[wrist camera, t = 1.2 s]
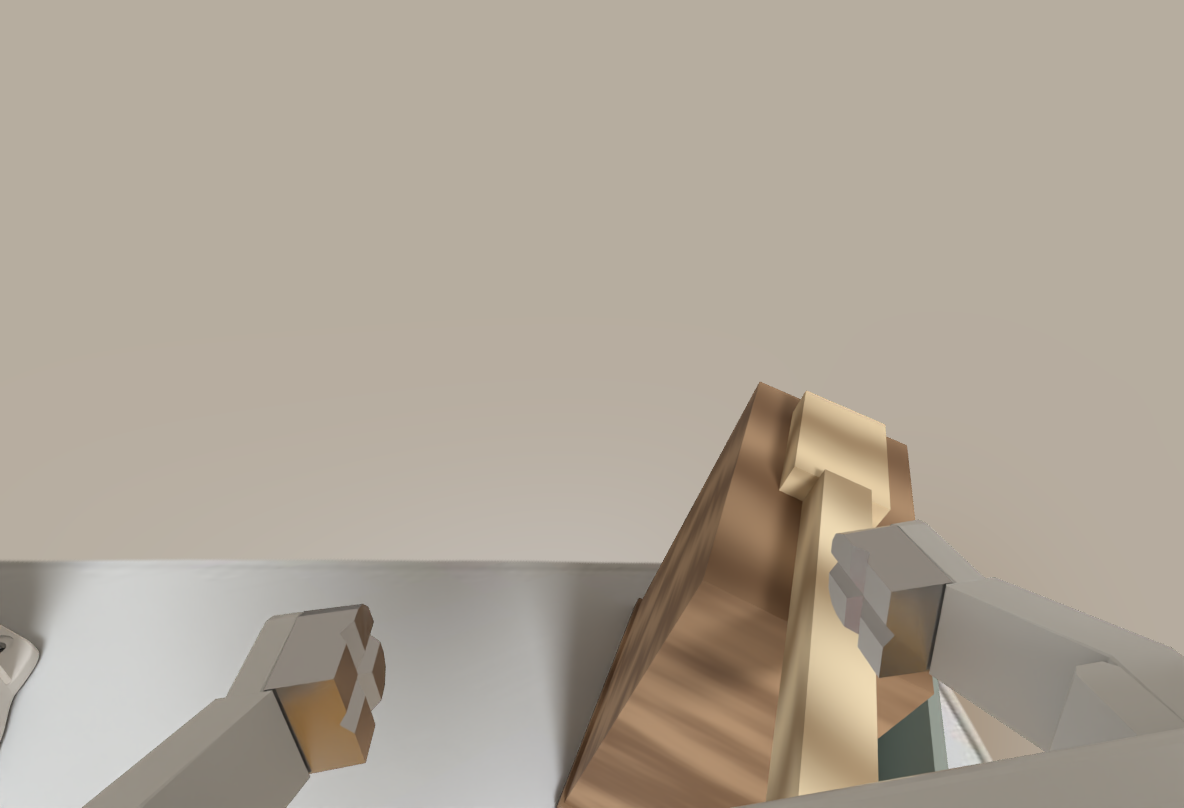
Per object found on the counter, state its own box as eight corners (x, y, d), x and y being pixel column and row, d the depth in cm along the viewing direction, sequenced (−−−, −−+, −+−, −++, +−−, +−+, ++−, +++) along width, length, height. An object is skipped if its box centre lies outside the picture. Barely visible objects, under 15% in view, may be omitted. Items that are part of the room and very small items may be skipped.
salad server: (878, 888, 18) (925, 864, 17) (723, 803, 19) (755, 773, 17) (869, 446, 37) (890, 417, 36) (792, 412, 38) (810, 382, 36)
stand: (696, 892, 40) (942, 704, 24) (554, 811, 41) (694, 582, 25) (741, 659, 54) (911, 444, 38) (635, 605, 56) (755, 377, 40)
